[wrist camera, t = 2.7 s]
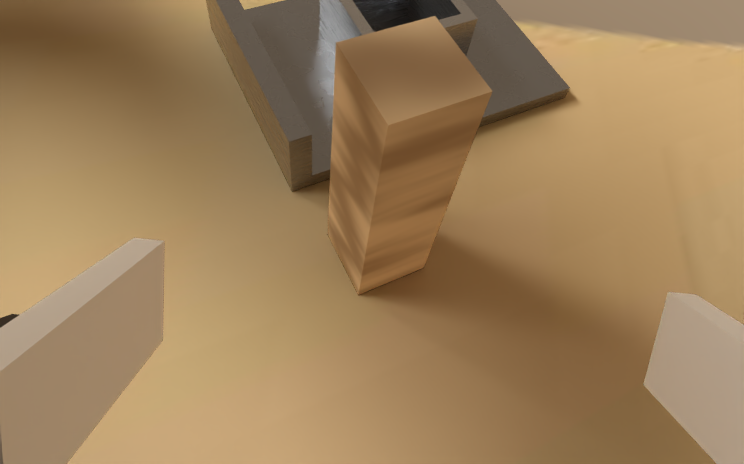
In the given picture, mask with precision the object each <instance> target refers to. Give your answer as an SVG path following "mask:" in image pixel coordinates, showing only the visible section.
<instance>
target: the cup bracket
mask: <svg viewBox="0 0 744 464" xmlns="http://www.w3.org/2000/svg"><path fill="white" fill-rule="evenodd" d="M206 3H207V8H208V13H209V18H210V23H211V28H212V31H213V33H214V35H215V37H216V39H217V41H218V43H219V45H220V47H221V49H222V51H223V53H224V55H225V57H226V59H227V61H228V63H229V65H230V67H231V69H232V71H233V73H234V75H235V77H236V79H237V81H238V83H239V85H240V87H241V89H242V91H243V93H244V95H245V97H246V100H247V102H248V104H249V106H250V108H251V110H252V112H253V114H254V116H255V118H256V120H257V122H258V124H259V126H260V128H261V130H262V132H263V134H264V136H265V138H266V140H267V142H268V144H269V146H270V148H271V150H272V152H273V154H274V156H275V158H276V160H277V162H278V164H279V166H280V168H281V170H282V172H283V174H284V176H285V178H286V180H287V182H288V184H289V186H290V188H291V190H292V191H295V190H297V189H300V188H303V187H306V186H309V185H312V184H315V183H318V182H321V181H324V180H326V179H329V178H330V168H331V145H332V122H333V99H334V76H335V53H336V42H339V41H343V40H347V39H350V38H354V37H358V36H362V35H365V34H369V33H373V32H377V31H380V30H384V29H388V28H392V27H395V26H399V25H403V24H406V23H410V22H414V21H418V20H421V19H425V18H429V17H433V16H436V18H437V19H438V20H439V22H440V23H441V24H442V26H443V27H444V28H445V30H446V31H447V32H448V33H449V35H450V36H451V37H452V39H453V40H454V41H455V43H456V44H457V45H458V47H459V48H460V49H461V51H462V52H463V53H464V54H465V56H466V57H467V58H468V60H469V61H470V62H471V64H472V65H473V66H474V68H475V69H476V70H477V72H478V73H479V74H480V75H481V77H482V78H483V79H484V81H485V82H486V83H487V85H488V86H489V87H490V89H491V90H492V94H491V97H490V99H489V102H488V104H487V107H486V109H485V112H484V115H483V117H482V120H481V122H480V125H479V127H480V126H483V125H486V124H489V123H492V122H495V121H498V120H500V119H503V118H506V117H509V116H512V115H515V114H518V113H521V112H524V111H527V110H529V109H532V108H535V107H538V106H541V105H544V104H547V103H550V102H553V101H556V100H558V99H561V98H564V97H565V96H566V94H567V92H568V90H569V88H570V87H569V86H568V85H567V84H566V83H565V82H564V80H563V79H562V78H561V77H560V76H559V74H558V73H557V72H556V71H555V70H554V69H553V67H552V66H551V65H550V64H549V63H548V62H547V60H546V59H545V58H544V57H543V56H542V54H541V53H540V52H539V51H538V50H537V49H536V47H535V46H534V45H533V44H532V43H531V41H530V40H529V39H528V38H527V37H526V36H525V34H524V33H523V32H522V31H521V30H520V28H519V27H518V26H517V25H516V24H515V23H514V21H513V20H512V19H511V18H510V17H509V16H508V14H507V13H506V12H505V11H504V10H503V8H501V6H500V5H499V4H498V3H497V2H496V0H285V1H280V2H276V3H272V4H268V5H264V6H259V7H255V8H251V9H247V10H244V9H243V7H242V5H241V3H240V1H239V0H206Z"/></svg>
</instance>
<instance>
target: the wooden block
mask: <svg viewBox="0 0 744 464" xmlns="http://www.w3.org/2000/svg"><path fill="white" fill-rule="evenodd" d="M491 94H492V90H491V89H490V87H489V86H488V85H487V83H486V82H485V81H484V79H483V78H482V77H481V75H480V74H479V73H478V72H477V70H476V69H475V68H474V66H473V65H472V64H471V62H470V61H469V60H468V58H467V57H466V56H465V54H464V53H463V52H462V51H461V49H460V48H459V47H458V45H457V44H456V43H455V41H454V40H453V39H452V37H451V36H450V35H449V33H448V32H447V31H446V30H445V28H444V27H443V26H442V24H441V23H440V22H439V20H438V19H437V18H436V16H433V17H429V18H425V19H421V20H418V21H414V22H410V23H406V24H403V25H399V26H395V27H392V28H388V29H384V30H380V31H377V32H373V33H369V34H365V35H362V36H358V37H354V38H350V39H347V40H343V41H339V42H336V53H335V76H334V99H333V122H332V145H331V168H330V191H329V214H328V237H329V238H330V240H331V242H332V244H333V246H334V248H335V250H336V252H337V254H338V256H339V258H340V260H341V262H342V264H343V266H344V268H345V270H346V272H347V274H348V276H349V278H350V280H351V282H352V284H353V286H354V288H355V290H356V292H357V294H358V295H360V294H362V293H365V292H367V291H369V290H372V289H374V288H377V287H379V286H381V285H384V284H386V283H389V282H391V281H393V280H396V279H398V278H400V277H403V276H405V275H408V274H410V273H412V272H415V271H417V270H420V269H422V268H424V266H425V263H426V260H427V258H428V255H429V253H430V250H431V248H432V245H433V243H434V240H435V237H436V235H437V232H438V230H439V227H440V225H441V222H442V219H443V217H444V214H445V212H446V209H447V207H448V204H449V202H450V199H451V196H452V194H453V191H454V189H455V186H456V184H457V181H458V179H459V176H460V173H461V171H462V168H463V166H464V163H465V161H466V158H467V155H468V153H469V150H470V148H471V145H472V143H473V140H474V138H475V135H476V132H477V130H478V127H479V125H480V122H481V120H482V117H483V115H484V112H485V109H486V107H487V104H488V102H489V99H490V97H491Z"/></svg>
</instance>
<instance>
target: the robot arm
mask: <svg viewBox="0 0 744 464" xmlns="http://www.w3.org/2000/svg"><path fill="white" fill-rule="evenodd" d="M163 308H164V241H161V240H151V239H142V238H133V239H131V240H130V241H128V242H127V243H125V244H124V245H122V246H121V247H119V248H118V249H116V250H115V251H113V252H112V253H110V254H109V255H108V256H106V257H105V258H103V259H102V260H100V261H99V262H97V263H96V264H94V265H93V266H91V267H90V268H88V269H87V270H85V271H84V272H82V273H81V274H79V275H78V276H76V277H75V278H73V279H72V280H71V281H69V282H68V283H66V284H65V285H63V286H62V287H60V288H59V289H57V290H56V291H54V292H53V293H51V294H50V295H48V296H47V297H45V298H44V299H42V300H41V301H39V302H38V303H36V304H35V305H33V306H32V307H31V308H29V309H28V310H26V311H25V312H23V313H22V314H20V315H17V314H11V315H8V316H5V317H3V318H0V464H67V463H68V461H69V460H70V459H71V458H72V456H73V455H74V454H75V452H76V451H77V450H78V449H79V447H80V446H81V445H82V443H83V442H84V441H85V440H86V438H87V437H88V436H89V434H90V433H91V432H92V431H93V429H94V428H95V427H96V425H97V424H98V423H99V422H100V420H101V419H102V418H103V416H104V415H105V414H106V413H107V411H108V410H109V409H110V407H111V406H112V405H113V404H114V402H115V401H116V400H117V399H118V397H119V396H120V395H121V393H122V392H123V391H124V390H125V388H126V387H127V386H128V384H129V383H130V382H131V381H132V379H133V378H134V377H135V375H136V374H137V373H138V372H139V370H140V369H141V368H142V366H143V365H144V364H145V363H146V361H147V360H148V359H149V357H150V356H151V355H152V354H153V352H154V351H155V350H156V348H157V347H158V346H159V345H160V343H161V342H162V341H163ZM643 385H644V386H645V387H646V388H647V389H648V390H649V392H650V393H651V394H652V395H653V396H654V397H655V398H656V399H657V400H658V401H659V402H660V403H661V404H662V406H663V407H664V408H665V409H666V410H667V411H668V412H669V413H670V414H671V415H672V416H673V417H674V418H675V420H676V421H677V422H678V423H679V424H680V425H681V426H682V427H683V428H684V429H685V430H686V431H687V432H688V434H689V435H690V436H691V437H692V438H693V439H694V440H695V441H696V442H697V443H698V444H699V445H700V446H701V448H702V449H703V450H704V451H705V452H706V453H707V454H708V455H709V456H710V457H711V458H712V459H713V460H714V462H715V463H716V464H744V325H743V324H742V323H740V322H739V321H737V320H735V319H734V318H732V317H731V316H729V315H728V314H726V313H724V312H723V311H721V310H720V309H718V308H717V307H715V306H713V305H712V304H710V303H709V302H707V301H706V300H704V299H702V298H701V297H699V296H698V295H696V294H686V293H676V292H668V294H667V298H666V301H665V305H664V309H663V313H662V316H661V320H660V324H659V328H658V331H657V335H656V339H655V343H654V346H653V350H652V354H651V358H650V361H649V365H648V369H647V373H646V377H645V380H644V384H643Z"/></svg>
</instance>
